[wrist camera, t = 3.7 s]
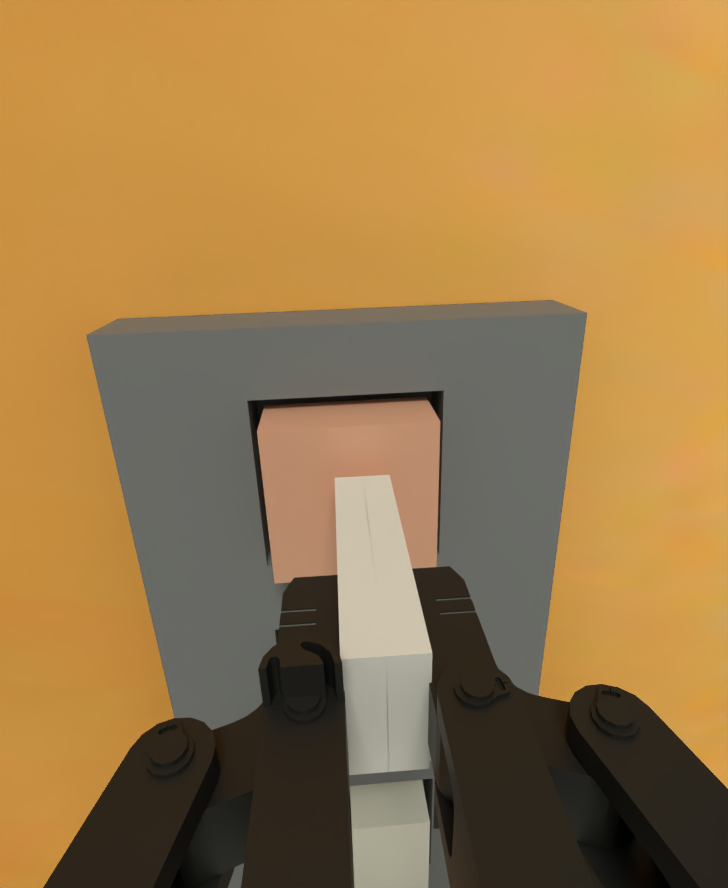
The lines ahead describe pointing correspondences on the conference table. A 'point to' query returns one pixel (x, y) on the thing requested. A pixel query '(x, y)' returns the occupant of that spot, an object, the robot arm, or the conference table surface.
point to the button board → (329, 380)
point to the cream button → (390, 835)
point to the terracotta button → (345, 475)
